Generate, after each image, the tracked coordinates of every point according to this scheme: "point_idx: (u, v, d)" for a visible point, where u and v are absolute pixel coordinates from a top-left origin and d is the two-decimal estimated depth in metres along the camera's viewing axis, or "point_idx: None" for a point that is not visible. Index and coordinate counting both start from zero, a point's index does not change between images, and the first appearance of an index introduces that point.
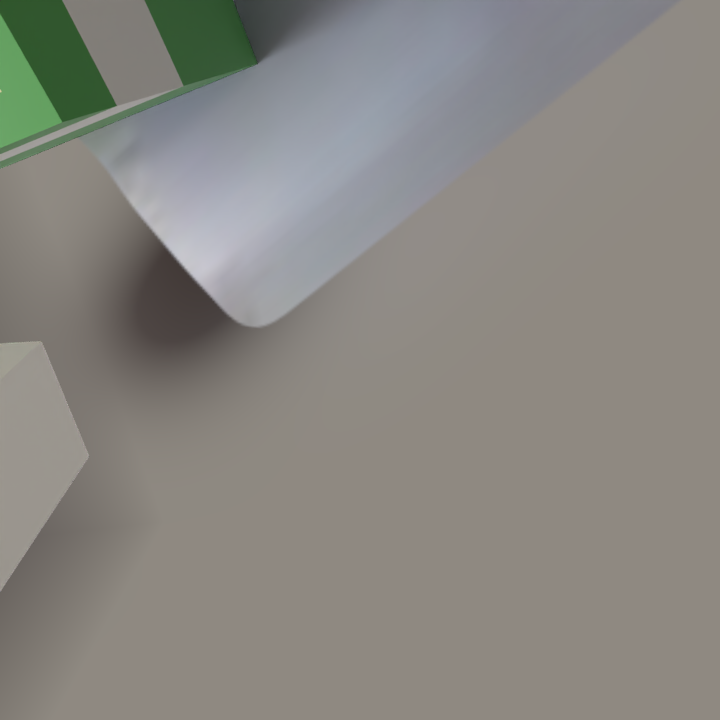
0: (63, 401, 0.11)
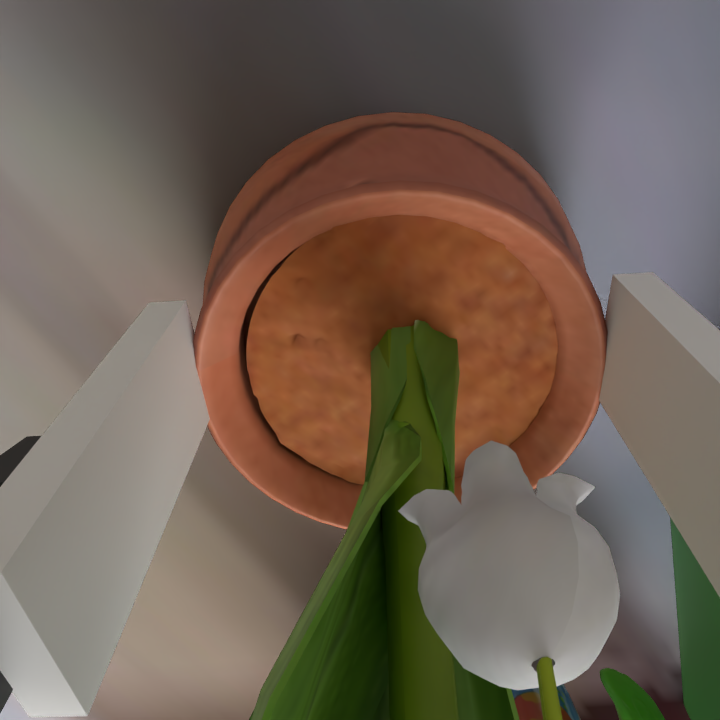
0: None
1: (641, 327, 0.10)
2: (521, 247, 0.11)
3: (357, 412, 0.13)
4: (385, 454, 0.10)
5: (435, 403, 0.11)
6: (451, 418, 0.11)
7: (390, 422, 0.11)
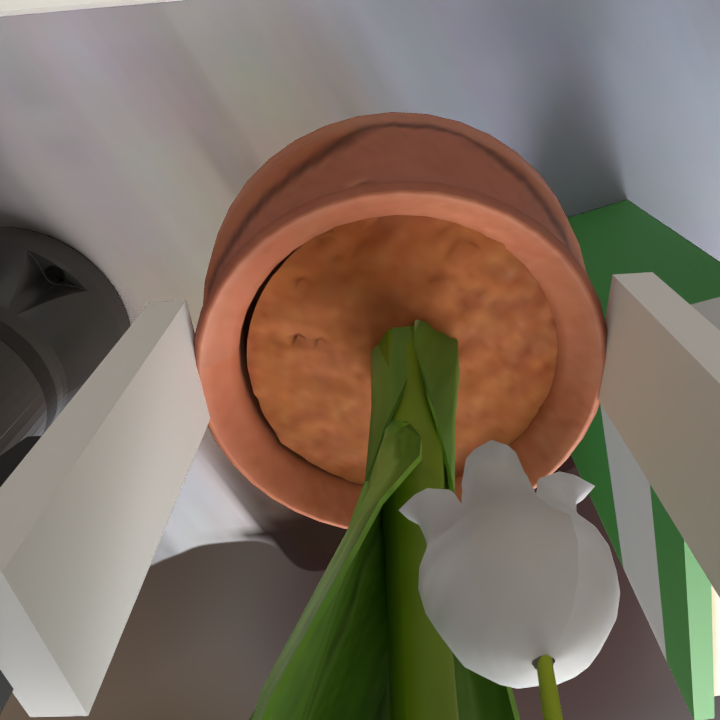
0: None
1: (641, 327, 0.10)
2: (521, 247, 0.11)
3: (357, 412, 0.13)
4: (385, 454, 0.10)
5: (435, 403, 0.11)
6: (451, 418, 0.11)
7: (390, 422, 0.11)
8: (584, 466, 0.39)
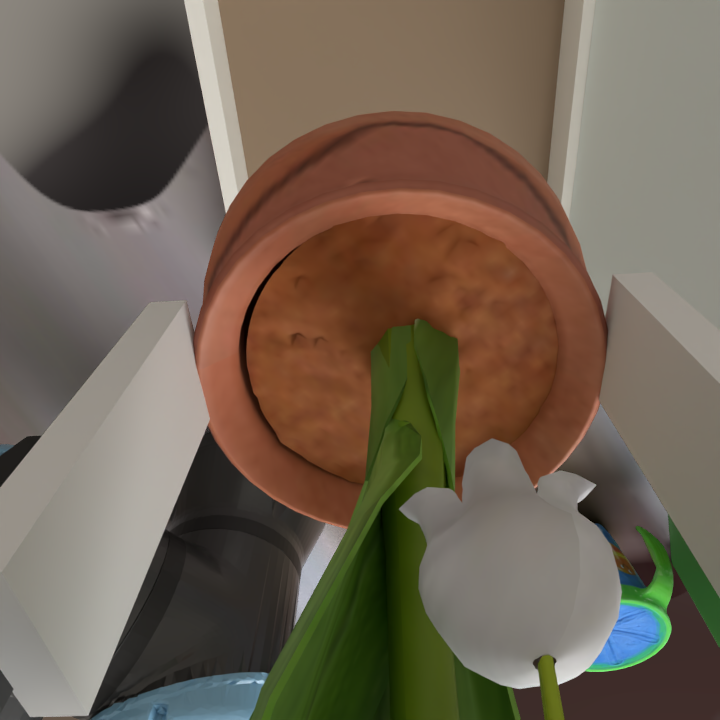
0: None
1: (641, 327, 0.10)
2: (522, 246, 0.11)
3: (357, 411, 0.13)
4: (385, 453, 0.10)
5: (435, 402, 0.11)
6: (451, 417, 0.11)
7: (390, 421, 0.11)
8: (715, 623, 0.48)
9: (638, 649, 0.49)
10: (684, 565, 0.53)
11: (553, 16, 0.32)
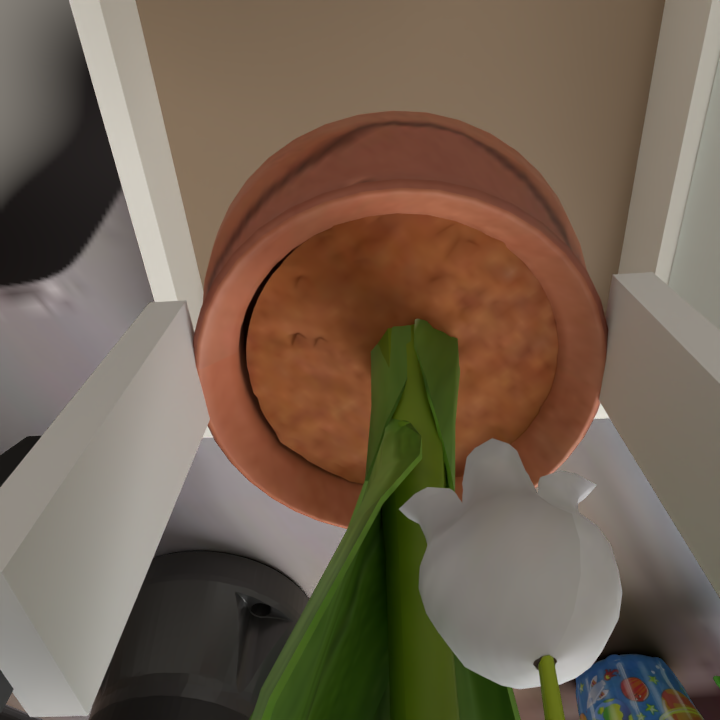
0: None
1: (641, 327, 0.10)
2: (521, 245, 0.11)
3: (357, 411, 0.13)
4: (385, 453, 0.10)
5: (435, 402, 0.11)
6: (451, 417, 0.11)
7: (390, 421, 0.11)
8: None
9: None
10: None
11: (648, 13, 0.21)
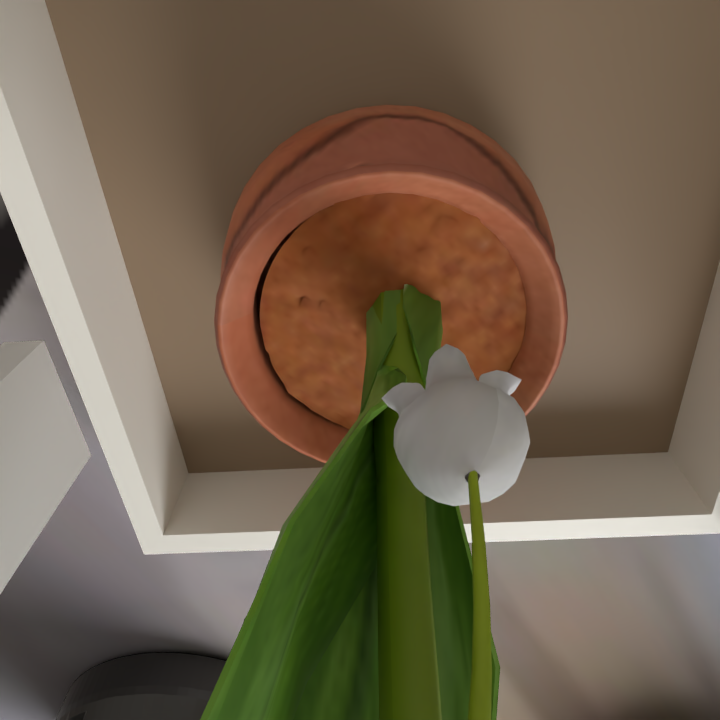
0: (66, 400, 0.11)
1: None
2: (493, 220, 0.13)
3: (355, 365, 0.15)
4: (377, 389, 0.12)
5: (420, 352, 0.13)
6: None
7: (382, 367, 0.13)
8: None
9: None
10: None
11: None
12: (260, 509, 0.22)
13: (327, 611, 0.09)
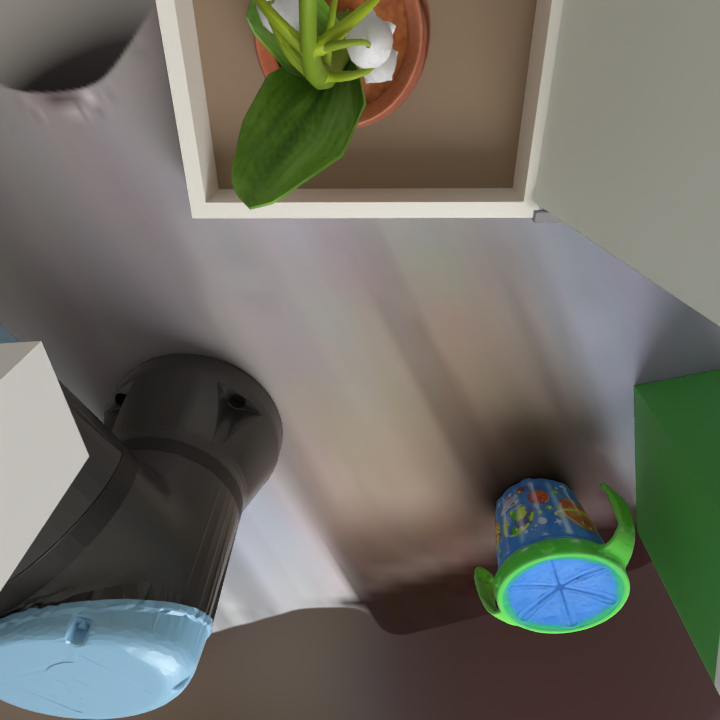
0: (63, 401, 0.11)
1: None
2: None
3: None
4: None
5: None
6: None
7: None
8: (676, 587, 0.46)
9: (595, 611, 0.46)
10: (649, 530, 0.51)
11: None
12: None
13: (300, 72, 0.24)
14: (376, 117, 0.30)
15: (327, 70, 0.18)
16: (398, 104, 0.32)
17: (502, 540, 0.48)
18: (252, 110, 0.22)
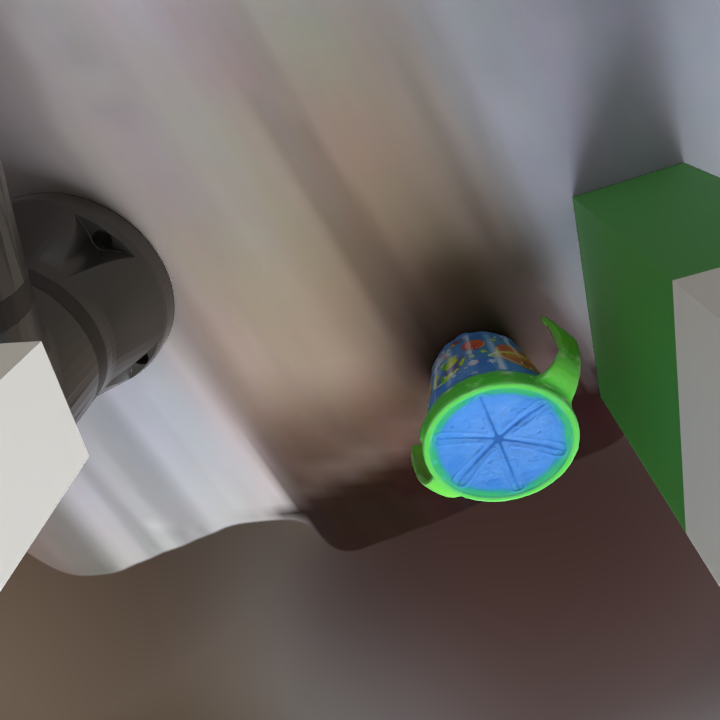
0: (63, 401, 0.11)
1: None
2: None
3: None
4: None
5: None
6: None
7: None
8: (639, 433, 0.39)
9: (543, 467, 0.39)
10: (608, 383, 0.43)
11: None
12: None
13: None
14: None
15: None
16: None
17: (431, 395, 0.41)
18: None
